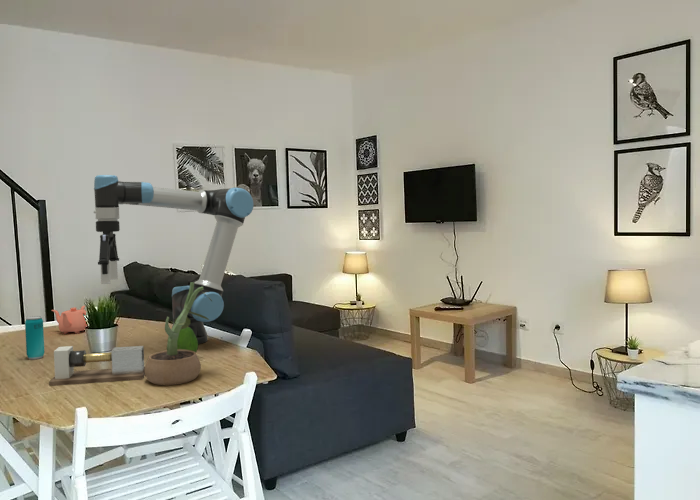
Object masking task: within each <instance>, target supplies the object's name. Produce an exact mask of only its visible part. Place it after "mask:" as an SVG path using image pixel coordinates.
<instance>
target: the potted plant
mask: <svg viewBox="0 0 700 500" xmlns="http://www.w3.org/2000/svg"><path fill="white" fill-rule="evenodd" d="M194 282H195V281H193V282H191V281H190V284H189V286H190V288H189V293H188V296H187V298H186V301H185V305H184V309H183V311H182V313H181V314H180V315H179V317H177V318H176V319H175V324H174V326H173V325H172V326H173V327H171V328H170V325H169V322H170V323H172V324H173V323H174V322H173V321H170V316H166V319H165V323H164V331H165V333H166V334H167V336H168V337H167V343H166V350H161V351H157V352H153V353H151V354H150V355H149V356H148V358H147V361H146V363H145V364H144V367H145V376H144V377H146V380H147V381H148V382H150V383H152V384H154V385H157V386H158V385H159V386H172V385H173V386H175V385H182V384H186V383H188V382H192V381H193V380H196V378H197V377H198V376H199V375H200V372H201V369H202V366H201V365H202V364H201V361H200V359H199V357H198V354H197V351H196V352H194V351H191V350H181V349H179V350H177V340H178V336H179V332H180V329H184V328H187V327H188V326H189V325H190V319H189V318H188V317H187V315H188V312H189V313H191V314H194V315H197V316H200V317H202V318H205V319H207V320H209V319H208V318H207V317H205V316H203V315H200V314H197V313H194V312H191V311H189V310H190V309H191V307H192V305H193V303H194V300H195V298H196V295H197V294H198V292H200V291H201V290H204V289H203V286H202V287H199V288H197V289H196V290H195V291H194V292H193V289H194ZM203 293H204V292H203ZM204 294H205V293H204ZM205 295H206V294H205ZM206 296H207V295H206ZM207 297H208V296H207ZM208 298H209V297H208ZM209 299H210V298H209ZM210 300H211V299H210ZM211 301H212V300H211Z"/></svg>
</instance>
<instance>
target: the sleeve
mask: <svg viewBox="0 0 700 500" xmlns="http://www.w3.org/2000/svg"><path fill="white" fill-rule="evenodd" d="M144 347H145V346H144V345H136V346H135V345H134V346H118V347H116V346H115V347H113V348H112V350H111V351H110V352H112V361H111V369H112V375H119V374H133V373H143V371H144V367H145V353H144V352H145V348H144Z"/></svg>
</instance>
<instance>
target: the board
mask: <svg viewBox="0 0 700 500" xmlns="http://www.w3.org/2000/svg"><path fill="white" fill-rule="evenodd" d="M145 377H146V376H145V366H144V371H143V373H133V374H119V375H112V368H104V369H88V370H87V369H86V370H74V374H73V375H72V376H71V377H70V378H67V379H55V376H53V377H52V378H51V379H50V381H49V382H48V386H49V385H52V386H64V385H77V384H78V385H79V384H80V385H81V384H93V383H95V384H96V383H107V382H121V381H135V380H143V379H144V378H145Z"/></svg>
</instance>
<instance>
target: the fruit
mask: <svg viewBox="0 0 700 500" xmlns="http://www.w3.org/2000/svg"><path fill="white" fill-rule="evenodd" d="M198 348H199V344H198V341H197V338H196V336H195V334H194V332H193V330H192V329H191V328H190V327H187V328H184V329H180V332H179V336H178V340H177V350H179V349H181V350H191V351H194V352H196V353H197V351H198Z"/></svg>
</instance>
